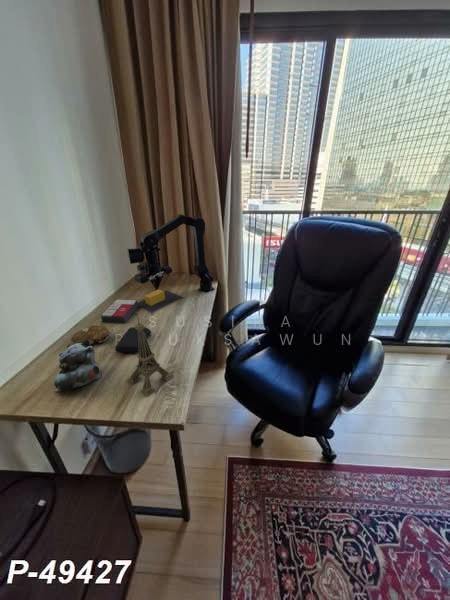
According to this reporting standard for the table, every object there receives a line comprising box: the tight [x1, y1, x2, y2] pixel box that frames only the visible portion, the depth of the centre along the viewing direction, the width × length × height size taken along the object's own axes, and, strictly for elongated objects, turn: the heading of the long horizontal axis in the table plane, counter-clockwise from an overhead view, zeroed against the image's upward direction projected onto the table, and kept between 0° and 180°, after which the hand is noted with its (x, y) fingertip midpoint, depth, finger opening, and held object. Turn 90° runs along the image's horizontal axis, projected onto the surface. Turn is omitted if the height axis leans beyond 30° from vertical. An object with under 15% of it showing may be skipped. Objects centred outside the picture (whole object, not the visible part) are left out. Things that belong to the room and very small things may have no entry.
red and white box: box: [100, 299, 140, 324], centre depth 119 cm, size 11×4×15 cm
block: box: [143, 289, 165, 306], centre depth 129 cm, size 4×4×9 cm
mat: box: [138, 290, 184, 313], centre depth 130 cm, size 20×14×1 cm
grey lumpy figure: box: [53, 340, 103, 393], centre depth 80 cm, size 15×12×14 cm
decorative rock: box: [70, 324, 111, 345], centre depth 102 cm, size 11×4×15 cm
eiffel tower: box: [127, 315, 175, 397], centre depth 76 cm, size 11×11×25 cm
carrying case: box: [114, 326, 152, 354], centre depth 99 cm, size 11×3×15 cm
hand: (156, 289), depth 128 cm, fingers closed
